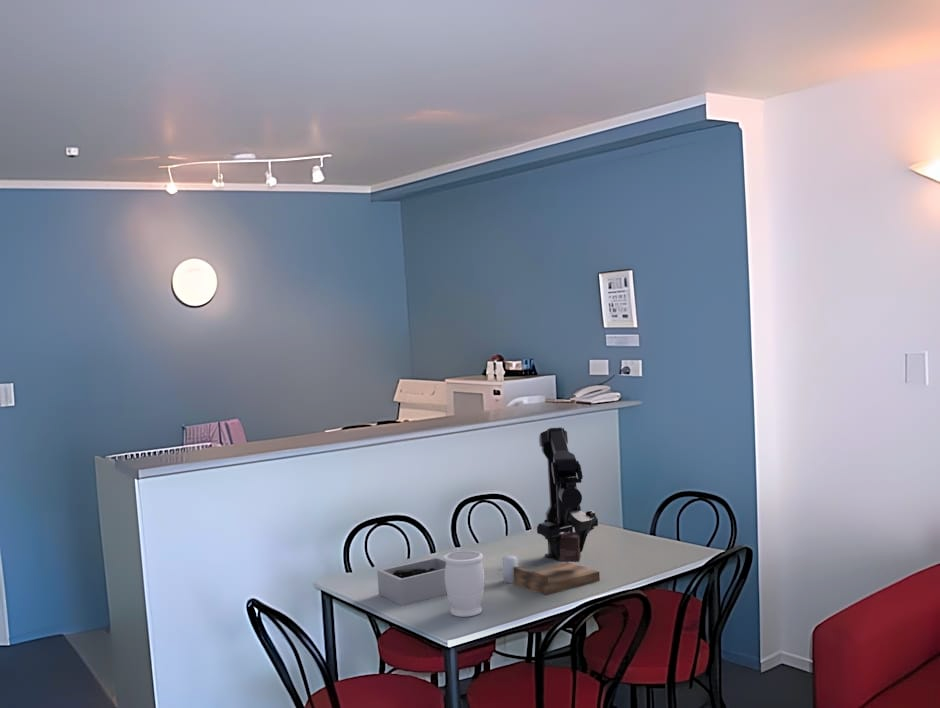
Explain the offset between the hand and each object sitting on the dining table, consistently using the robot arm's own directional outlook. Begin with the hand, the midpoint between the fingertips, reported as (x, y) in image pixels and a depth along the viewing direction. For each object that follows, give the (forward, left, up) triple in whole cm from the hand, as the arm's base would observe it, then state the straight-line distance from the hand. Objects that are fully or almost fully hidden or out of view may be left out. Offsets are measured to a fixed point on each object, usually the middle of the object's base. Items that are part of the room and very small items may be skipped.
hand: (569, 554), depth 260 cm
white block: (-10, -14, -7) cm, 19 cm away
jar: (+4, -39, -7) cm, 40 cm away
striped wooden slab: (0, -5, -7) cm, 9 cm away
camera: (-19, -39, -8) cm, 44 cm away
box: (0, 0, -2) cm, 2 cm away
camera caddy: (-19, -39, -7) cm, 44 cm away
